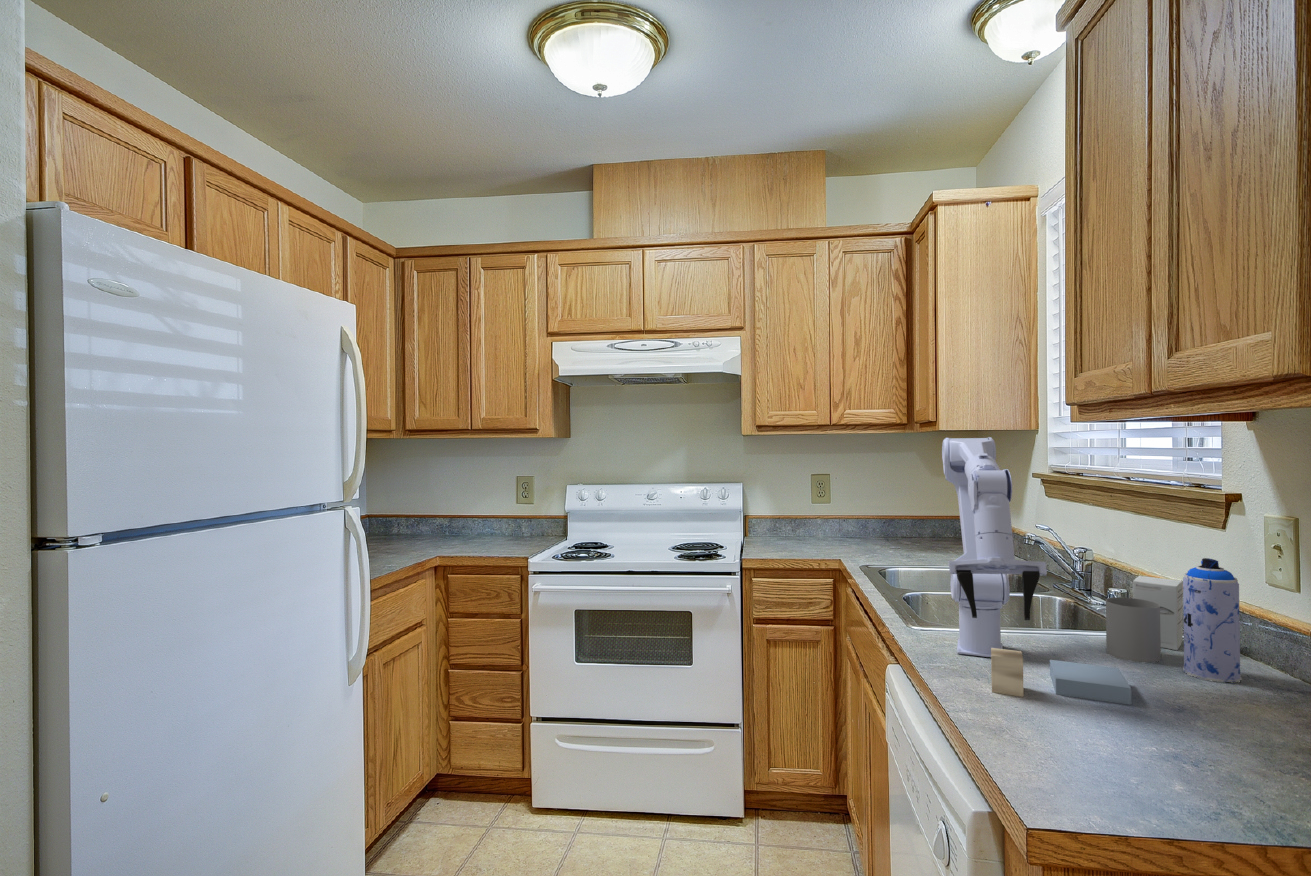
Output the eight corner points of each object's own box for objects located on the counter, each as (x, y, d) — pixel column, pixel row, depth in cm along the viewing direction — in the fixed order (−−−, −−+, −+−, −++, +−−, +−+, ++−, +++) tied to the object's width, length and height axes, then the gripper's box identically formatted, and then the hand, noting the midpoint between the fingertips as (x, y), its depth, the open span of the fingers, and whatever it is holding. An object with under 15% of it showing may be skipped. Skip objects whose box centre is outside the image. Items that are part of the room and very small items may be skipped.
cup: (1163, 665, 120) (1162, 610, 120) (1107, 658, 124) (1107, 604, 124) (1157, 652, 127) (1156, 600, 127) (1105, 646, 131) (1104, 595, 131)
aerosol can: (1178, 664, 120) (1176, 554, 120) (1234, 671, 116) (1232, 557, 116) (1188, 678, 113) (1186, 561, 113) (1248, 686, 109) (1246, 564, 109)
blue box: (1049, 676, 116) (1049, 659, 116) (1118, 685, 111) (1118, 667, 111) (1056, 696, 107) (1055, 678, 107) (1131, 707, 102) (1131, 688, 102)
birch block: (991, 683, 112) (991, 647, 112) (1021, 687, 110) (1021, 651, 110) (991, 692, 108) (991, 655, 108) (1023, 696, 106) (1023, 659, 106)
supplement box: (1131, 643, 133) (1130, 580, 133) (1139, 635, 138) (1138, 574, 138) (1178, 651, 127) (1177, 585, 127) (1184, 642, 133) (1183, 579, 133)
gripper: (946, 531, 113) (950, 612, 108) (1043, 530, 107) (1053, 616, 102) (948, 541, 119) (953, 618, 114) (1041, 541, 113) (1050, 623, 108)
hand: (1000, 618), depth 109 cm, fingers open, 7 cm apart
